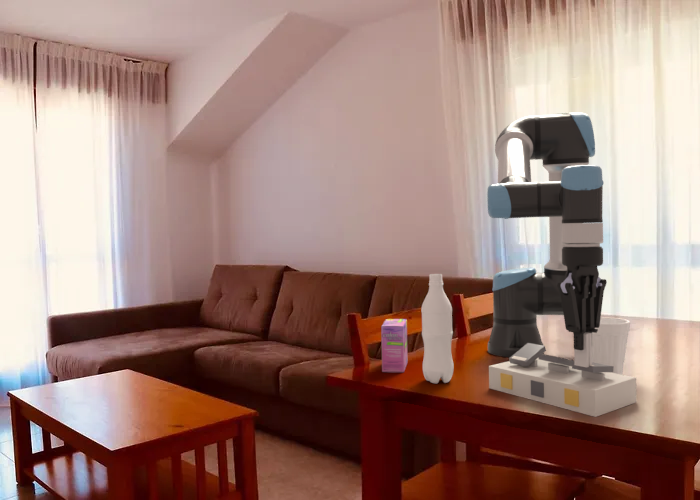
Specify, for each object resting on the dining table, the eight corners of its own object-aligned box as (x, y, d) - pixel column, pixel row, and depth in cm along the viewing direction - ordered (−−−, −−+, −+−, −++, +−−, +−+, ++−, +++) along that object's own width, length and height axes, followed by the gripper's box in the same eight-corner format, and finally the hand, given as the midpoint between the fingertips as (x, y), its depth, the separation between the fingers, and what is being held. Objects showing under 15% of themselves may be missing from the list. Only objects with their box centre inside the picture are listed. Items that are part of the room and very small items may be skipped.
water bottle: (453, 385, 138) (450, 275, 137) (421, 384, 139) (418, 276, 138) (454, 377, 145) (451, 272, 144) (424, 376, 146) (421, 273, 145)
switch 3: (592, 368, 125) (592, 361, 125) (613, 372, 121) (613, 365, 121) (571, 368, 121) (572, 361, 121) (592, 372, 117) (593, 366, 117)
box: (404, 372, 151) (403, 325, 150) (381, 372, 152) (380, 325, 151) (408, 363, 161) (407, 318, 161) (386, 362, 162) (385, 318, 162)
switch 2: (558, 363, 131) (559, 357, 131) (577, 367, 128) (578, 361, 128) (538, 359, 127) (539, 353, 128) (557, 363, 124) (558, 356, 124)
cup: (627, 383, 135) (627, 325, 134) (580, 378, 140) (579, 322, 139) (633, 373, 143) (633, 318, 143) (588, 369, 148) (588, 316, 148)
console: (530, 377, 142) (529, 350, 142) (636, 402, 121) (636, 370, 121) (488, 388, 134) (487, 359, 134) (594, 417, 113) (594, 383, 113)
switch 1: (529, 347, 138) (527, 342, 138) (546, 350, 134) (544, 345, 134) (510, 363, 134) (508, 358, 134) (527, 366, 131) (525, 361, 130)
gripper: (585, 244, 125) (586, 358, 126) (544, 246, 118) (545, 367, 118) (619, 244, 119) (620, 364, 120) (578, 246, 111) (579, 374, 112)
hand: (583, 365), depth 119 cm, fingers closed
